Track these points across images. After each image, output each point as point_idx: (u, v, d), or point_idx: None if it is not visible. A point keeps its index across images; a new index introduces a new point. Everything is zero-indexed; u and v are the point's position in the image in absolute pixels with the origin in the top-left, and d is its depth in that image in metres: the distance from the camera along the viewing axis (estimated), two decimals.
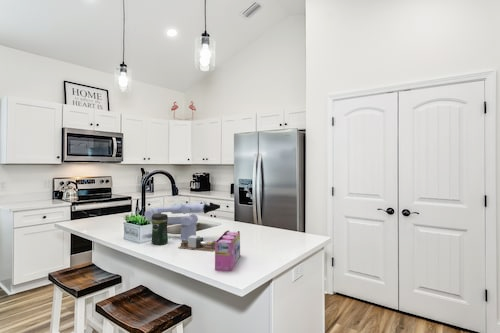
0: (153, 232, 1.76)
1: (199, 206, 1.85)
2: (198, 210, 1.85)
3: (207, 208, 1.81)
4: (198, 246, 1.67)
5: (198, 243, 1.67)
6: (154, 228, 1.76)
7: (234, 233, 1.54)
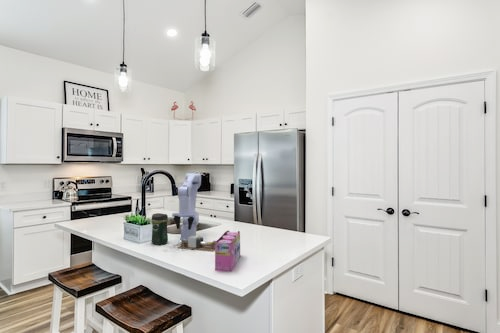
0: (153, 232, 1.76)
1: (179, 210, 1.71)
2: None
3: None
4: (198, 246, 1.67)
5: (198, 243, 1.67)
6: (154, 228, 1.76)
7: (234, 233, 1.54)
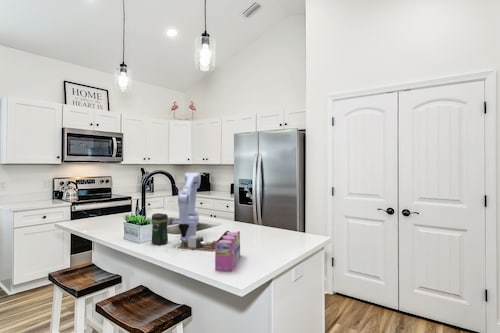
0: (153, 232, 1.76)
1: (179, 217, 1.72)
2: None
3: None
4: (198, 246, 1.67)
5: (198, 243, 1.67)
6: (154, 228, 1.76)
7: (234, 233, 1.54)
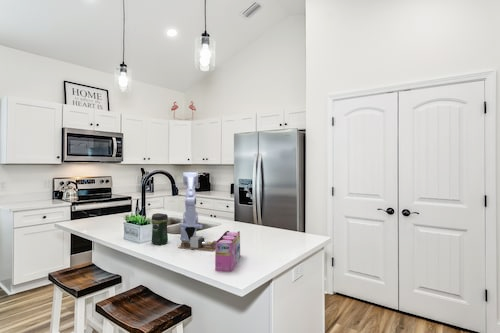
0: (153, 232, 1.76)
1: (185, 220, 1.71)
2: None
3: None
4: (199, 246, 1.67)
5: (199, 243, 1.67)
6: (154, 228, 1.76)
7: (234, 233, 1.54)
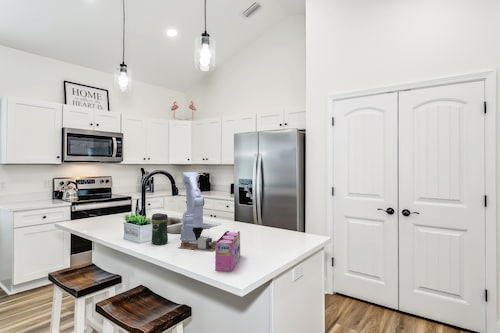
0: (153, 232, 1.76)
1: (193, 221, 1.69)
2: None
3: None
4: (207, 247, 1.66)
5: (207, 244, 1.66)
6: (154, 228, 1.76)
7: (234, 233, 1.53)
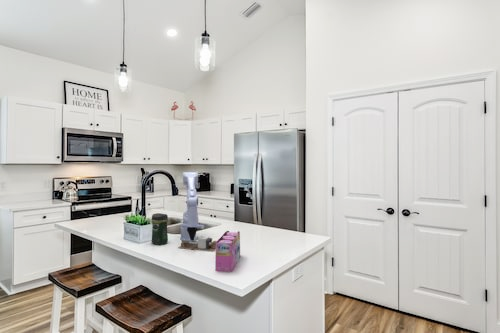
0: (153, 232, 1.76)
1: (187, 220, 1.70)
2: None
3: None
4: (207, 247, 1.66)
5: (207, 244, 1.66)
6: (154, 228, 1.76)
7: (234, 233, 1.53)
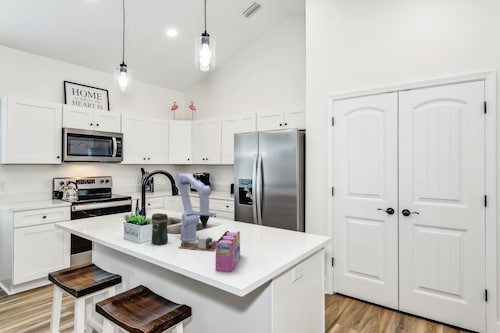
0: (153, 232, 1.76)
1: None
2: None
3: None
4: (207, 247, 1.66)
5: (207, 244, 1.66)
6: (154, 228, 1.76)
7: (234, 233, 1.53)
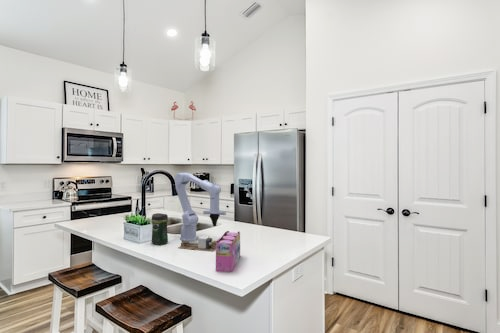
0: (153, 232, 1.76)
1: (210, 207, 1.80)
2: None
3: None
4: (207, 247, 1.66)
5: (207, 244, 1.66)
6: (154, 228, 1.76)
7: (234, 233, 1.53)
